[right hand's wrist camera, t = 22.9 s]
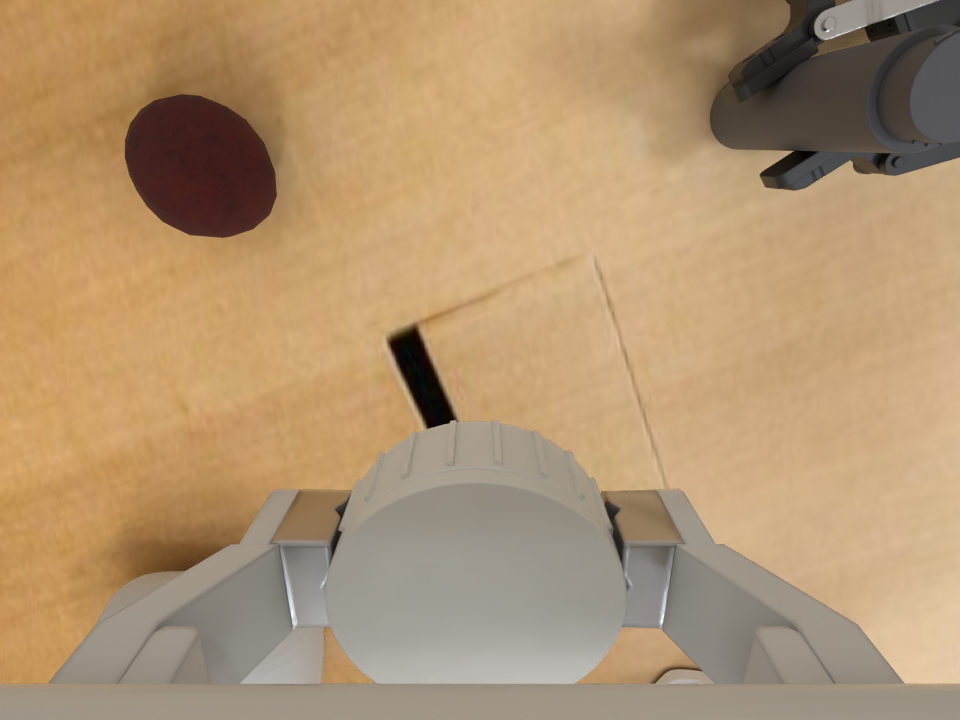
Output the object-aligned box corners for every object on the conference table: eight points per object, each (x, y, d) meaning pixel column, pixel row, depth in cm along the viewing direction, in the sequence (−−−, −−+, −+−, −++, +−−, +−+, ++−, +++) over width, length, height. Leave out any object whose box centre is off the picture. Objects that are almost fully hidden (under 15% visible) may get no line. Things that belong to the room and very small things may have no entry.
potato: (206, 73, 32) (134, 53, 25) (317, 164, 33) (277, 167, 27) (146, 175, 34) (65, 181, 27) (254, 256, 35) (203, 279, 29)
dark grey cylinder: (790, 122, 33) (1047, 104, 18) (727, 163, 34) (921, 179, 18) (762, 59, 31) (1012, -18, 16) (698, 103, 32) (879, 69, 17)
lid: (291, 527, 10) (254, 605, 9) (481, 361, 9) (482, 412, 7) (471, 663, 12) (470, 753, 10) (658, 534, 10) (694, 613, 9)
